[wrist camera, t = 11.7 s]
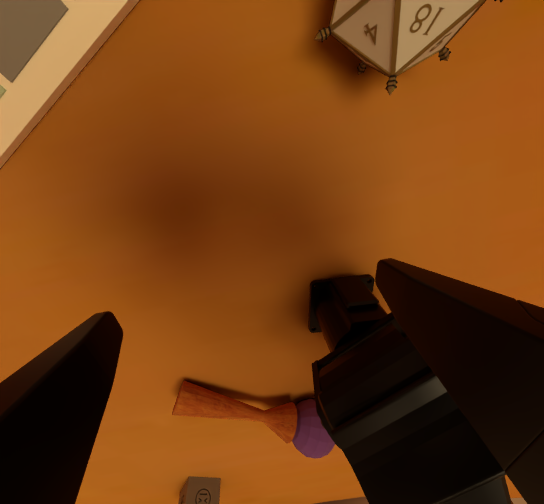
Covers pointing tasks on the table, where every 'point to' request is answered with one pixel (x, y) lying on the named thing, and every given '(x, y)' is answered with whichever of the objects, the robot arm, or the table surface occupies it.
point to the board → (46, 56)
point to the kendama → (260, 417)
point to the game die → (397, 31)
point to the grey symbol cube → (200, 491)
